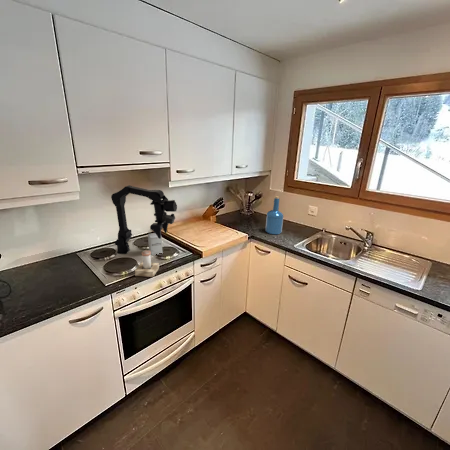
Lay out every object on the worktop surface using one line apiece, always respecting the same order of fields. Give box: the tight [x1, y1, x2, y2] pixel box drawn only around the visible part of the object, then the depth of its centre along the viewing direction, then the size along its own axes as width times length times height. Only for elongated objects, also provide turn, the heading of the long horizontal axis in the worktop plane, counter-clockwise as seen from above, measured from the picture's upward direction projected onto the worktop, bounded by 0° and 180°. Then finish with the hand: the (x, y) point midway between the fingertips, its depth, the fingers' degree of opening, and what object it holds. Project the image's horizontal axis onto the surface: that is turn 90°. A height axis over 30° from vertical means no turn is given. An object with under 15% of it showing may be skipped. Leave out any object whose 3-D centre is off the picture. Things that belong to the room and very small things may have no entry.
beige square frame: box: [134, 261, 160, 278], centre depth 144 cm, size 10×10×4 cm
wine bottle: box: [264, 195, 284, 235], centre depth 207 cm, size 14×13×30 cm
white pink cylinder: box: [141, 249, 152, 269], centre depth 143 cm, size 5×5×12 cm
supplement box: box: [147, 232, 163, 256], centre depth 167 cm, size 7×7×13 cm
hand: (162, 235), depth 159 cm, fingers open, 9 cm apart
